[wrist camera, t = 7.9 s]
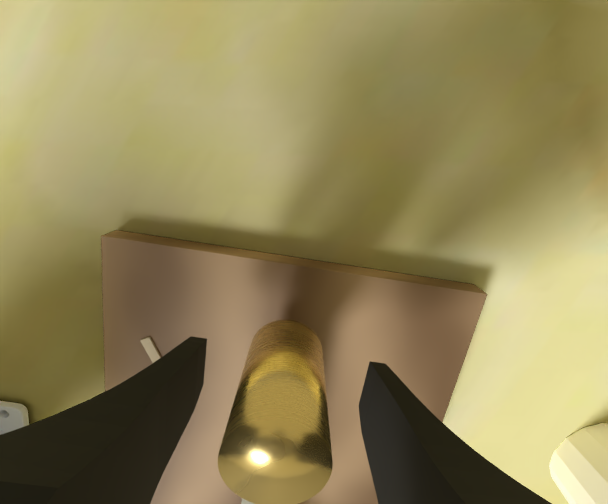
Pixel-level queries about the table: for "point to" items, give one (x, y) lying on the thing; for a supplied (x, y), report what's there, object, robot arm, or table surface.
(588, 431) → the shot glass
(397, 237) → the table surface
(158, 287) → the bench base
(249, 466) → the lever
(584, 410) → the table surface
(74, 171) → the table surface
